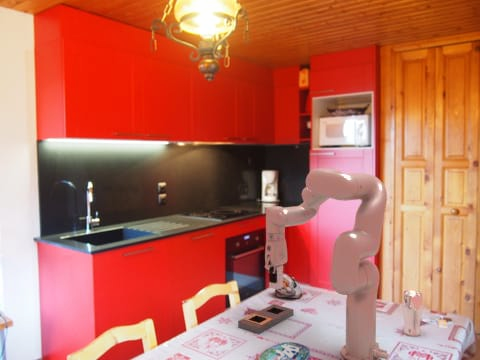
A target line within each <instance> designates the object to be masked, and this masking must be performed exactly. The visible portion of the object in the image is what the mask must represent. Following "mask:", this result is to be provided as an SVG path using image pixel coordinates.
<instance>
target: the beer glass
mask: <svg viewBox="0 0 480 360" xmlns="http://www.w3.org/2000/svg"><path fill="white" fill-rule="evenodd" d="M402 292H403V294H402V301H401V302H402V313H403V317H404V325H403V333H404V334H405V335H407V336H410V337H420V336H422V331H421V320H422V315H423V309H424V307H423V305H424V301H423V294H422V292H419V291H416V290H404V291H402Z"/></svg>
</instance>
